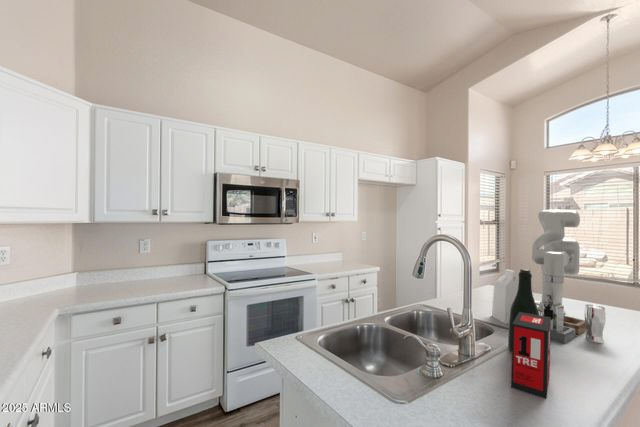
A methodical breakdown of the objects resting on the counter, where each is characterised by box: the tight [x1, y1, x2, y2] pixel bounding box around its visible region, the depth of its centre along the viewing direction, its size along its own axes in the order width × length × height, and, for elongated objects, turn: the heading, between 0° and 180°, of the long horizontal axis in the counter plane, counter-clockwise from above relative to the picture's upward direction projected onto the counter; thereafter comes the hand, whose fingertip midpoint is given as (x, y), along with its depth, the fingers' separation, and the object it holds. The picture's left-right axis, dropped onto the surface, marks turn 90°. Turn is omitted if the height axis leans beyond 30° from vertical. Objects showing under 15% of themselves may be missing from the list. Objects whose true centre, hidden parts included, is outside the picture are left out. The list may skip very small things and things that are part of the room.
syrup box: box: [542, 303, 565, 333], centre depth 140 cm, size 6×6×14 cm
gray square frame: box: [550, 326, 576, 345], centre depth 140 cm, size 13×13×4 cm
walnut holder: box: [563, 315, 587, 337], centre depth 150 cm, size 13×13×4 cm
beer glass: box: [584, 303, 607, 344], centre depth 136 cm, size 7×7×15 cm
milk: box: [491, 269, 519, 325], centre depth 161 cm, size 12×12×26 cm
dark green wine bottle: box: [507, 268, 540, 353], centre depth 121 cm, size 10×10×33 cm
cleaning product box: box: [510, 312, 551, 400], centre depth 99 cm, size 16×9×20 cm, turn 141°
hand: (552, 316), depth 140 cm, fingers open, 9 cm apart
